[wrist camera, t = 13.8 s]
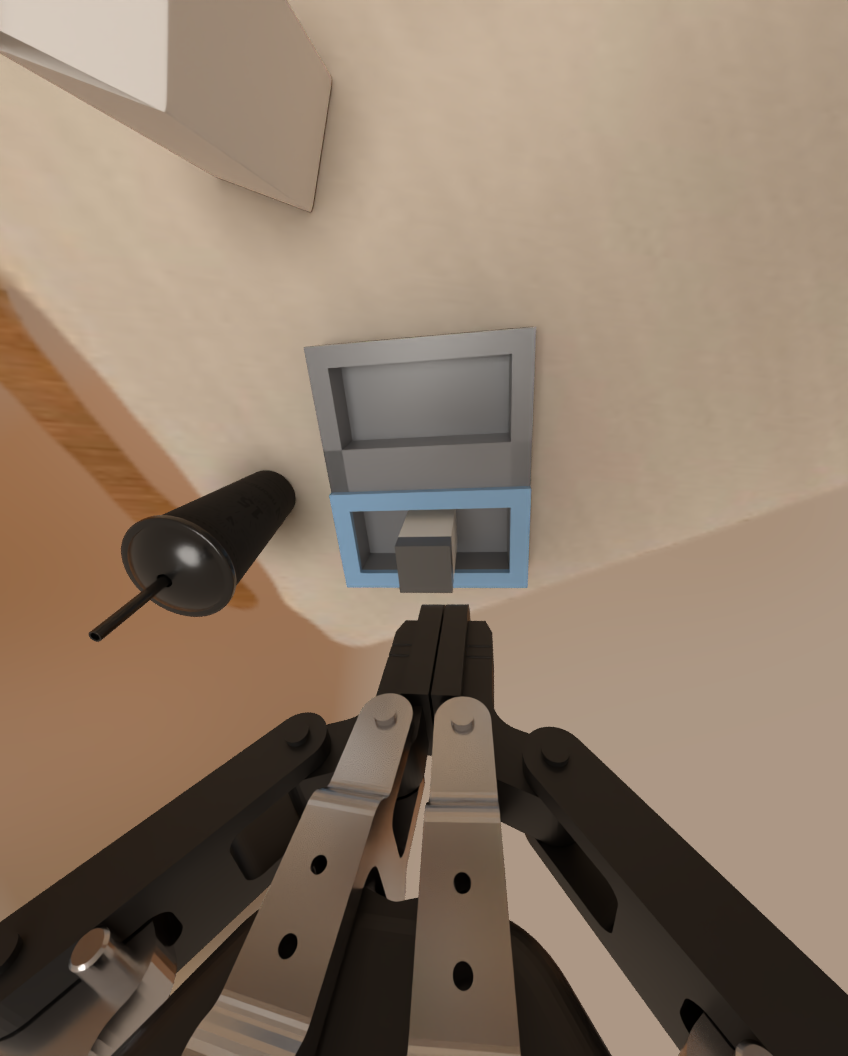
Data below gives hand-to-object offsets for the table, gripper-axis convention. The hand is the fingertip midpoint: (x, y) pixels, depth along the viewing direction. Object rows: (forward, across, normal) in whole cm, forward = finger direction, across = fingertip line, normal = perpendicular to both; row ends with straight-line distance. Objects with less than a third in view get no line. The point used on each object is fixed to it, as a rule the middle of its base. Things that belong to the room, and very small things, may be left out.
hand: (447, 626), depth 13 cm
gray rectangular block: (+23, +4, +7) cm, 24 cm away
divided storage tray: (+24, +4, +2) cm, 24 cm away
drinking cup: (+23, +20, +4) cm, 31 cm away
